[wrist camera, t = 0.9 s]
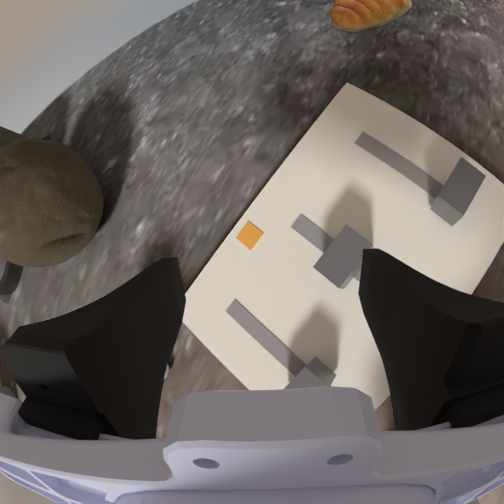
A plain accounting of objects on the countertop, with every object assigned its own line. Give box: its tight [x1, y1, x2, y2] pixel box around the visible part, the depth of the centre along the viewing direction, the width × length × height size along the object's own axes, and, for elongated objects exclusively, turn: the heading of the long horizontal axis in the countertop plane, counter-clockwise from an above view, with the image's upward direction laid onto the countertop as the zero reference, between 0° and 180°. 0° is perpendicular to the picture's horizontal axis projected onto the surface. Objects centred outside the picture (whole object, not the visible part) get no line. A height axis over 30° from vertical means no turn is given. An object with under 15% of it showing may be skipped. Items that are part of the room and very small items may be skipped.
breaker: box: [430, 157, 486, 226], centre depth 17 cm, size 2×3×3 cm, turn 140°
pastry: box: [330, 0, 412, 33], centre depth 23 cm, size 9×7×4 cm
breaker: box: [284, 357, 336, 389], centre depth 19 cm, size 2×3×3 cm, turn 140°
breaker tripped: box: [313, 224, 373, 289], centre depth 19 cm, size 2×3×3 cm, turn 140°
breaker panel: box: [182, 83, 504, 410], centre depth 22 cm, size 17×24×2 cm
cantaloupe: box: [0, 138, 104, 267], centre depth 28 cm, size 14×14×15 cm
